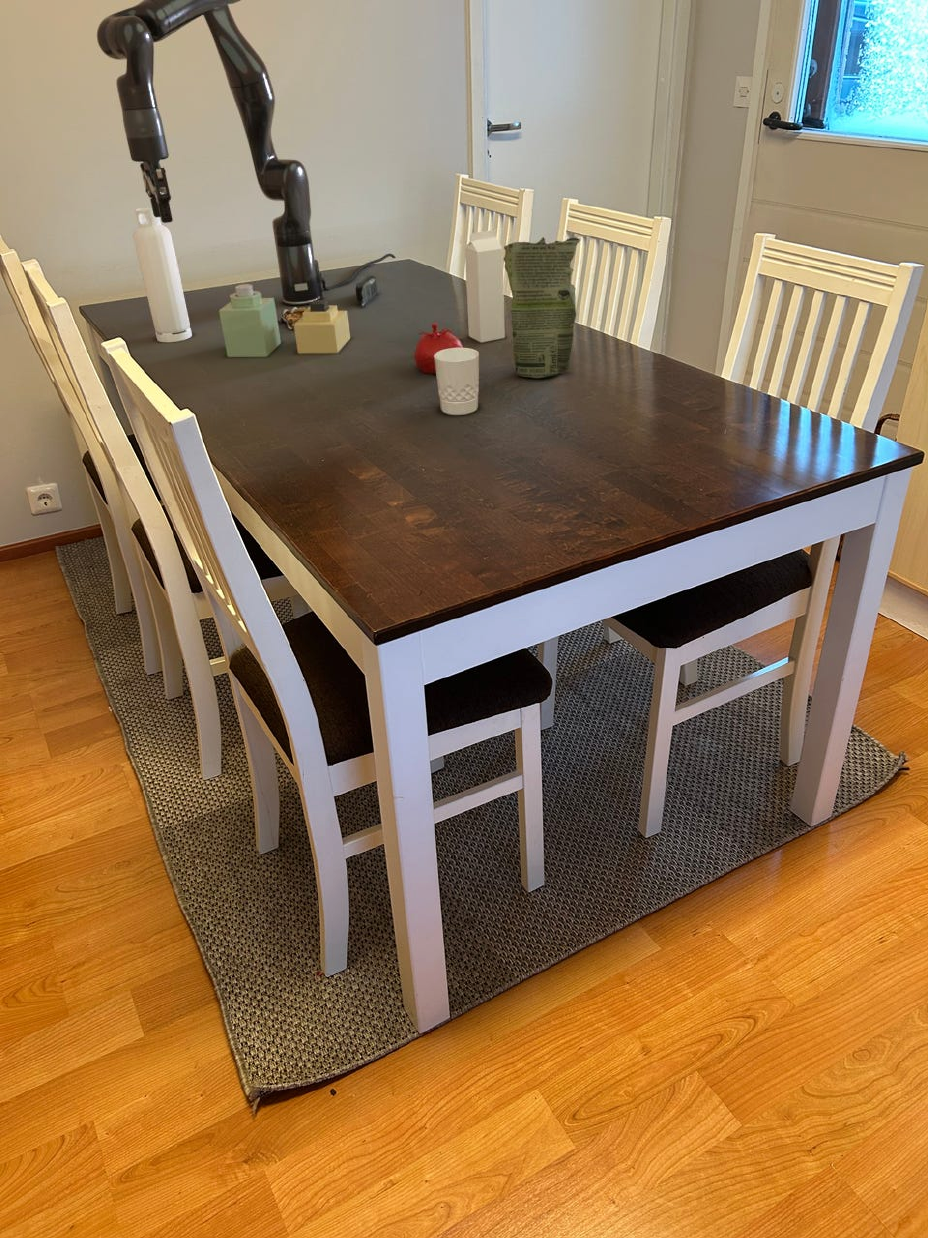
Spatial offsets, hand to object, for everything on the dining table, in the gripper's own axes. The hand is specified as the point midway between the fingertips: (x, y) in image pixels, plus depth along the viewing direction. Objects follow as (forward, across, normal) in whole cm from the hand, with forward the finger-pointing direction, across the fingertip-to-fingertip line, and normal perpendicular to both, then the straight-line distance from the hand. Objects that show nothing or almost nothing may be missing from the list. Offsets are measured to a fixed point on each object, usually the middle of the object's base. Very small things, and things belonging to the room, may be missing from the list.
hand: (163, 219), depth 197 cm
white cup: (+27, -71, -33) cm, 83 cm away
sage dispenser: (+27, -12, -12) cm, 32 cm away
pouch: (+27, -62, -56) cm, 88 cm away
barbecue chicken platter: (+27, +2, -27) cm, 38 cm away
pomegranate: (+27, -48, -40) cm, 68 cm away
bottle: (+27, +10, +2) cm, 29 cm away
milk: (+27, -34, -58) cm, 73 cm away
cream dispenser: (+27, -18, -26) cm, 42 cm away
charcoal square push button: (+19, -18, -26) cm, 37 cm away
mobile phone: (+27, +13, -48) cm, 57 cm away
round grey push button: (+15, -12, -12) cm, 23 cm away
